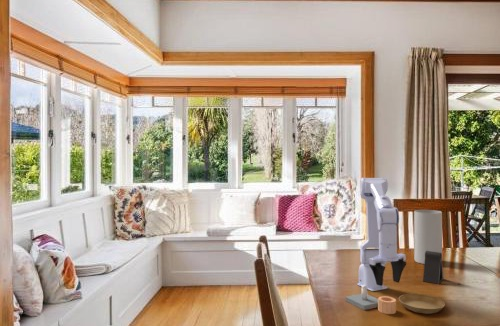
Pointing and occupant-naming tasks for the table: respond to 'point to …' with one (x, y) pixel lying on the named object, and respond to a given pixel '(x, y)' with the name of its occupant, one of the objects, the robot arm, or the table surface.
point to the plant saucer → (421, 303)
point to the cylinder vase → (427, 233)
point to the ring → (387, 305)
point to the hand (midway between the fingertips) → (387, 283)
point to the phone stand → (433, 267)
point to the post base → (363, 300)
